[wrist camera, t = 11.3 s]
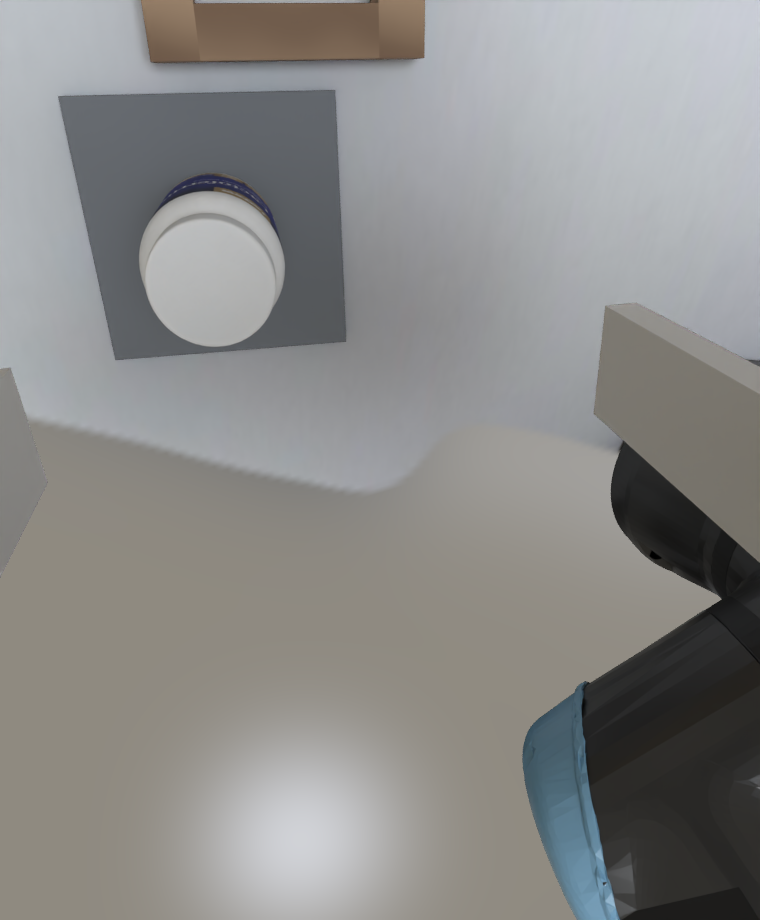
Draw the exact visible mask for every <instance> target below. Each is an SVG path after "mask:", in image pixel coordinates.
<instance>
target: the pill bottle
mask: <svg viewBox="0 0 760 920" xmlns="http://www.w3.org/2000/svg"><path fill="white" fill-rule="evenodd" d="M139 267H140V273H141V277H142V281H143V284H144V287H145V289H146V294H147V297H148V300H149V302H150V304H151V307H152V308H153V310H154V312H155V314H156V315H157V317H158V318H159V319H160V321H161V322H162V323H163V324H164V325H165V326H166V327H167V328H168V329H169V330H170V331H171V332H173V333H174V334H176V335H177V336H179V337H180V338H182V339H184V340H187V341H189V342H191V343H194V344H198V345H202V346H209V347H220V346H228V345H232V344H235V343H238V342H241V341H243V340H245V339H247V338H248V337H250V336H251V335H253V334H254V333H255V332H256V331H257V330H258V329H260V327H261V326H262V325H263V324H264V323H265V321H266V320H267V318H268V316H269V315H270V313H271V310H272V308H273V306H274V305H275V303H276V302H277V300H278V298H279V295H280V293H281V290H282V287H283V282H284V276H285V260H284V254H283V249H282V245H281V241H280V237H279V234H278V230H277V226H276V222H275V219H274V217H273V214H272V212H271V210H270V208H269V206H268V205H267V203H266V202H265V200H264V199H263V198H262V196H261V195H260V194H259V193H258V192H257V191H256V190H255V189H254V188H252V187H251V186H250V185H248V184H247V183H245V182H244V181H242V180H240V179H238V178H236V177H233V176H230V175H227V174H222V173H202V174H198V175H194V176H191V177H189V178H187V179H185V180H183V181H181V182H180V183H178V184H177V185H176V186H175V187H174V188H173V189H172V190H171V191H170V192H169V193H168V194H167V195H166V197H165V198H164V200H163V201H162V203H161V204H160V206H159V207H158V209H157V210H156V212H155V213H154V215H153V216H152V218H151V220H150V221H149V223H148V225H147V227H146V229H145V232H144V234H143V237H142V240H141V244H140V250H139Z"/></svg>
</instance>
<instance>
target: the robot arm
mask: <svg viewBox="0 0 760 920" xmlns="http://www.w3.org/2000/svg"><path fill="white" fill-rule="evenodd" d="M594 414H595V415H596V416H597V417H598V418H599V419H600V420H601V421H602V422H603V423H605V424H606V425H607V426H608V427H609V428H610V429H611V430H612V431H614V432H615V433H616V434H617V435H618V436H619V437H620V438H621V439H622V440H624V441H625V443H624V445H623V447H622V449H621V451H620V453H619V456H618V459H617V461H616V464H615V468H614V472H613V477H612V483H611V502H612V508H613V512H614V515H615V518H616V520H617V523H618V525H619V526H620V528H621V529H622V531H623V532H624V534H625V535H626V536H627V537H628V538H629V539H630V540H631V541H632V543H633V544H634V545H635V546H636V547H637V548H638V549H639V550H640V552H641V553H642V554H644V555H645V556H646V557H647V558H648V559H650V560H651V561H653V562H654V563H656V564H657V565H659V566H661V567H663V568H665V569H667V570H670V571H673V572H674V573H676V574H677V575H679V576H681V577H683V578H685V579H687V580H689V581H691V582H693V583H695V584H697V585H699V586H701V587H703V588H705V589H707V590H709V591H711V592H713V593H715V594H717V595H718V596H719V597H720V598H721V599H722V600H720V601H719V602H717V603H716V604H714V605H712V606H711V607H710V608H708V609H706V610H704V611H702V612H701V613H699V614H697V615H696V616H694V617H693V618H691V619H690V620H688V621H687V622H685V623H684V624H682V625H680V626H679V627H677V628H676V629H675V630H673V631H671V632H670V633H668V634H667V635H665V636H664V637H662V638H661V639H659V640H658V641H656V642H654V643H653V644H651V645H650V646H648V647H647V648H645V649H644V650H642V651H641V652H639V653H638V654H636V655H634V656H633V657H631V658H629V659H628V660H626V661H625V662H623V663H621V664H620V665H618V666H617V667H615V668H613V669H612V670H610V671H609V672H607V673H605V674H604V675H602V676H601V677H599V678H598V679H596V680H594V681H593V682H591V683H589V682H586V681H585V682H583V683H581V684H580V685H579V686H577V688H576V690H575V693H573V694H572V695H571V696H569V697H568V698H566V699H565V700H564V701H562V702H561V703H560V704H558V705H557V706H555V707H554V708H553V709H551V710H550V711H548V712H547V713H546V714H544V715H543V716H542V717H540V718H539V719H538V720H537V721H536V722H535V723H534V724H533V725H532V726H531V728H530V729H529V731H528V733H527V735H526V738H525V742H524V746H523V770H524V777H525V785H526V789H527V794H528V798H529V802H530V806H531V810H532V813H533V816H534V820H535V823H536V826H537V829H538V832H539V835H540V837H541V841H542V843H543V846H544V849H545V851H546V854H547V856H548V859H549V861H550V864H551V866H552V868H553V871H554V873H555V876H556V878H557V880H558V882H559V884H560V886H561V889H562V891H563V893H564V896H565V898H566V900H567V902H568V904H569V906H570V908H571V910H572V911H573V913H574V915H575V917H576V919H577V920H760V361H747V360H745V359H744V358H742V357H740V356H738V355H736V354H734V353H732V352H730V351H728V350H726V349H724V348H722V347H720V346H719V345H717V344H715V343H713V342H711V341H709V340H707V339H705V338H703V337H701V336H699V335H697V334H696V333H694V332H692V331H690V330H688V329H686V328H684V327H682V326H680V325H678V324H676V323H674V322H672V321H671V320H669V319H667V318H665V317H663V316H661V315H659V314H657V313H655V312H653V311H651V310H649V309H647V308H646V307H644V306H642V305H640V304H638V303H628V304H618V305H609V306H605V315H604V324H603V333H602V342H601V351H600V360H599V370H598V379H597V388H596V397H595V406H594ZM47 483H48V481H47V478H46V476H45V472H44V469H43V466H42V463H41V460H40V457H39V454H38V451H37V448H36V445H35V442H34V439H33V436H32V432H31V429H30V427H29V423H28V420H27V417H26V414H25V411H24V408H23V405H22V402H21V399H20V396H19V392H18V389H17V386H16V383H15V380H14V377H13V374H12V371H11V368H3V369H0V577H1V575H2V573H3V571H4V569H5V567H6V565H7V563H8V561H9V559H10V557H11V555H12V553H13V551H14V549H15V547H16V545H17V543H18V541H19V539H20V537H21V535H22V533H23V531H24V529H25V527H26V525H27V523H28V521H29V519H30V517H31V515H32V513H33V511H34V509H35V507H36V505H37V503H38V501H39V499H40V497H41V495H42V493H43V491H44V489H45V487H46V485H47Z"/></svg>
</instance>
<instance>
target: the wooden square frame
mask: <svg viewBox="0 0 760 920" xmlns="http://www.w3.org/2000/svg"><path fill="white" fill-rule="evenodd" d="M141 3H142V9H143V15H144V22H145V28H146V35H147V41H148V48H149V54H150V60H151V62H154V63H184V62H250V61H316V60H382V59H418V58H424V35H425V0H370V3H195V1H194V0H141Z"/></svg>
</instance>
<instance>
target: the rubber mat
mask: <svg viewBox="0 0 760 920" xmlns="http://www.w3.org/2000/svg"><path fill="white" fill-rule="evenodd" d="M58 98H59V102H60V107H61V111H62V116H63V121H64V125H65V130H66V134H67V139H68V144H69V148H70V153H71V157H72V162H73V167H74V171H75V176H76V180H77V185H78V190H79V194H80V199H81V203H82V208H83V213H84V217H85V222H86V226H87V231H88V235H89V240H90V245H91V249H92V254H93V258H94V263H95V268H96V272H97V277H98V281H99V286H100V291H101V295H102V300H103V304H104V309H105V314H106V318H107V323H108V327H109V332H110V337H111V341H112V346H113V350H114V355H115V360H123V359H135V358H148V357H160V356H173V355H185V354H198V353H210V352H223V351H235V350H248V349H260V348H273V347H285V346H298V345H310V344H323V343H335V342H346V329H345V306H344V283H343V260H342V237H341V214H340V191H339V168H338V145H337V122H336V99H335V90H321V91H276V92H231V93H185V94H140V95H95V96H58ZM202 173H222V174H227V175H230V176H233V177H236V178H238V179H240V180H242V181H244V182H245V183H247V184H248V185H250V186H251V187H252V188H254V189H255V190H256V191H257V192H258V193H259V194H260V195H261V196H262V198H263V199H264V200H265V202H266V203H267V205H268V206H269V208H270V210H271V212H272V214H273V217H274V219H275V222H276V226H277V230H278V234H279V237H280V241H281V245H282V249H283V254H284V260H285V276H284V282H283V287H282V290H281V293H280V295H279V298H278V300H277V302H276V303H275V305H274V306H273V308H272V310H271V313H270V315H269V316H268V318H267V320H266V321H265V323H264V324H263V325H262V326H261V327H260V329H258V330H257V331H256V332H255V333H254V334H253V335H251V336H250V337H248V338H247V339H245V340H243V341H241V342H238V343H235V344H232V345H228V346H220V347H209V346H202V345H198V344H194V343H191V342H189V341H187V340H184V339H182V338H180V337H179V336H177V335H176V334H174V333H173V332H171V331H170V330H169V329H168V328H167V327H166V326H165V325H164V324H163V323H162V322H161V321H160V319H159V318H158V317H157V315H156V314H155V312H154V310H153V308H152V307H151V304H150V302H149V300H148V297H147V294H146V289H145V287H144V284H143V281H142V277H141V273H140V267H139V250H140V244H141V240H142V237H143V234H144V232H145V229H146V227H147V225H148V223H149V221H150V220H151V218H152V216H153V215H154V213H155V212H156V210H157V209H158V207H159V206H160V204H161V203H162V201H163V200H164V198H165V197H166V195H167V194H168V193H169V192H170V191H171V190H172V189H173V188H174V187H175V186H176V185H177V184H178V183H180V182H181V181H183V180H185V179H187V178H189V177H191V176H194V175H198V174H202Z"/></svg>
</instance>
